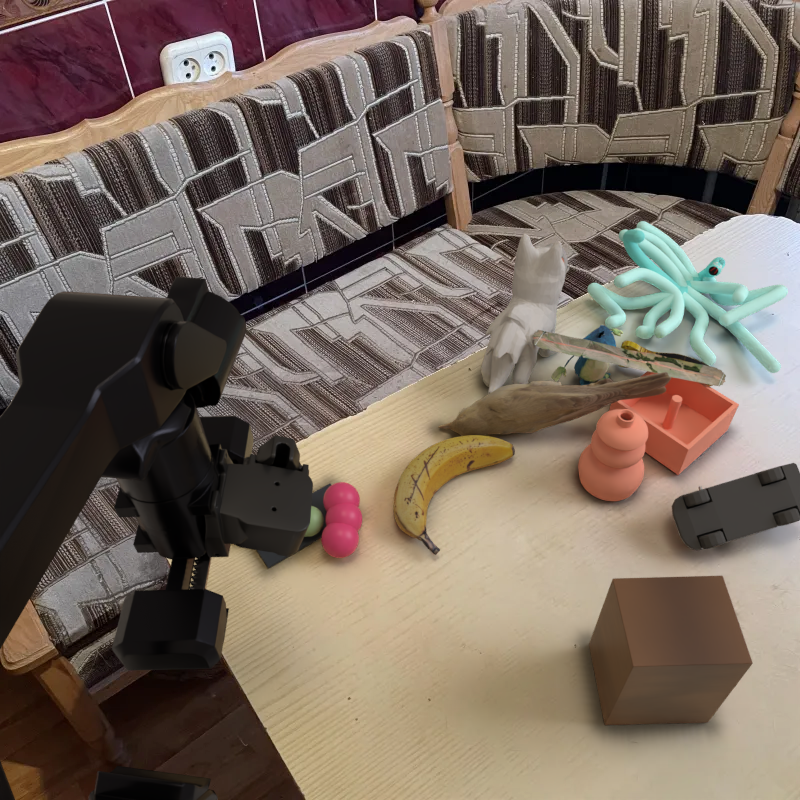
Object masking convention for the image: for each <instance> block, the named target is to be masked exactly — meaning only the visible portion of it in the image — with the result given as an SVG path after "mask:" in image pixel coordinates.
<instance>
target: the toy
mask: <svg viewBox="0 0 800 800" xmlns="http://www.w3.org/2000/svg"><path fill="white" fill-rule="evenodd" d="M568 264H569V259H568V255H567V252H566V250H565V248H564V247H563V244H562V242H561V241H559V240H558V241H555V242H553V243H552V242H551V243H549V244H547V245H545V246H540V247H535V246H534V245H533V243H532V240H531V236H530V235H529V234H527V233H523V234H522V235H521V237H520V239H519V242H518V246H517V250H516V253H515V260H514V267H513V277H512V281H511V293H512V295H511V299H510V301H509V303H508V305H507V306H506V307H505V309H503V311H502V312H500V313H499V314H498V315H497V316H496V317H495V318H494V319H493V320H492V322H491V324H490V325H489V326H488V327H487V330H486V332H485V336H486V335H488V336H489V335H490V338H489V340H488V343H487V347H486V350H485V353H484V356H483V360H482V362H481V366H480V367H481V369H480V372H481V376H482V382H483V383H484V385H485V386H486V387H488V390H487V391H488V392H487V393H488V394H490V393H492V392H493V391H495V390H496V389H498V388H500V387H502V386H504V385H505V384H506V382H507V380H508V379H509V377H510V376H511V381H512V382H511V383H512V384H528V383H530V382H531V381H530V378H531V375H532V373H533V371H534V368H535V366H536V364H537V362H538V361H537V360H538V354H539V355H540V357H543V358H548V357H551V356H553V355H555V353H557V352H555V351H551V350H549V349H543V348H539V347H538V346H537V345H534V342H535V340H534V339H533V337H534V333H536V332H537V330H541V331H546V332H550V333H555V334H556V328H557V317H558V306H559V302H560V297H561V294H562V290H563V287H564V284H565V282H566V281H565V280H566V275H567V273H568V272H569V271H570V266H571V265H570V264H569V265H568ZM511 373H512V375H511ZM488 394H487V395H488Z"/></svg>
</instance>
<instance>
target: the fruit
mask: <svg viewBox="0 0 800 800" xmlns="http://www.w3.org/2000/svg"><path fill="white" fill-rule="evenodd" d="M515 449H516V448H515V446H514V444H513V443H511V442H509V441H506V440H504V439H502V438H498V437H495V436H490V435H468V436H461V435H459V436H454V437H450V438H446V439H443V440H441V441H438V442H437V443H434V444H432V445H430V446H429V447H427V448H425V449H424V450H422V451H421V452H420V453H419V454H417V455H416V456H415V457H414V458H413V459H411V461H410V462H409V463H408V464H407V465H406V467H405V469H404V470H403V472H402V473H401V475H400V477H399V479H398V482H397V484H396V486H395V491H394V494H393V495H394V496H393V504H392V510H393V516H394V519H395V523H396V524H397V526H398V527H399V529H400V530H401V531H402V532H403V533H404V534H406V535H408V536H410V537H411V538H413V539H416V540H418V541H420V542H421V543H422V544H423V545H424V546H425V547H426V548H427V550H429V551H430V553H431V554H433V555H435V556H436V555H438V554H439V553H440V551H441V548H439V547H438V546H437V545H436V544H435V543H434V541H433V540H432V539H431V538H430V536H429V535H428V533H427V531H428V530H427V519H428V518H427V516H428V509H429V505H430V502H431V500H432V499H433V497H434V495H435V494H436V493H437V492H438V491H439V490H440V489H441V488H442V487H443V486H444V485H445V484H447V483H448V482H450V481H451V480H452V479H454V478H456V477H458V476H460V475H463V474H465V473H468V472H472V471H475V470H479V469H483V468H487V467H489V466H493V465H498V464H500V463H504V462H506V461H508V460H510V459H511V458H513V457H514V455H515V454H516V450H515Z"/></svg>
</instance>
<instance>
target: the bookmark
mask: <svg viewBox="0 0 800 800" xmlns="http://www.w3.org/2000/svg"><path fill="white" fill-rule="evenodd" d="M533 339H534V340H535V342H534V345H537V346H538V347H539V348H543V349H549V350H551V351H555V352H556V353H560V354H564V355H568V356H574V357H578V358H579V357H581V356H582V357H583V358H588V359H593V360H598V361H602V362H607V363H609V364H612V365H616V366H619V365H621V366H624V367H629V368H628V369H634V370H638V371H642V372H647V371H649V372H654V373H658V374H659V373H663V372H667V373H668V375H669V376H670V377H673V378H679V379H684V380H689V381H694V382H700V383H705V384H709V385H713V386H714V387H720V386H723V385H724V383H726V377H727V375H726V374H725V372H724V371H723V370H722V369H719V368H718V367H714V366H712V365H709V366H706V365H701V364H696V363H691V362H685V361H681V360H676V359H672V358H669V357H665V356H661V355H657V354H653V353H645V352H637V351H633V350H627V349H623V348H621V347H619V346H616V347H615V346H611V345H607V344H603V343H598V342H594V341H590V340H586V339H583V338H579V337H573V336H569V335H564V334H559V333H556V332H555V333H550V332H546V331H541V330H537V332H536V333H534V337H533ZM624 367H623V368H624Z"/></svg>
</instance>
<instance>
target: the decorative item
mask: <svg viewBox="0 0 800 800" xmlns="http://www.w3.org/2000/svg"><path fill="white" fill-rule="evenodd" d="M620 348H623V349H627V350H633V351H637V352H645V353H653V354H657V355H661V356H665V357H669V358H672V359H676V360H681V361H685V362H691V363H696V364H701V365H706V366H710V365H707V364H705V363H704V362H703V361H702V360H699V359H696V358H694V357H691V356H689V355H685V354H680V353H676V352H675V353H674V352H659V351H654V350H650V349H647V348H646V347H643V346H642V345H640V344H638V343H637V342H635V341H632V340H623V342H621V346H620ZM618 366H619V368H624V369H625V368H626V369H630V368H629V367H624V366H621V365H618ZM706 385H708V386H710V387H712V386H714V385H709V384H706Z"/></svg>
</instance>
